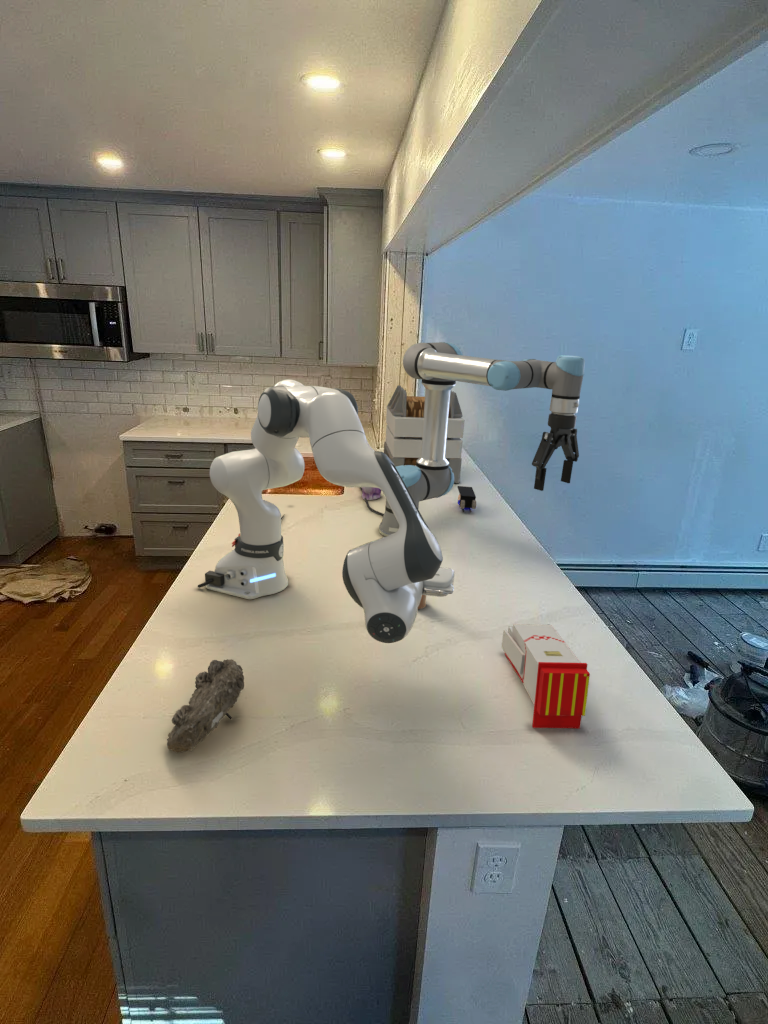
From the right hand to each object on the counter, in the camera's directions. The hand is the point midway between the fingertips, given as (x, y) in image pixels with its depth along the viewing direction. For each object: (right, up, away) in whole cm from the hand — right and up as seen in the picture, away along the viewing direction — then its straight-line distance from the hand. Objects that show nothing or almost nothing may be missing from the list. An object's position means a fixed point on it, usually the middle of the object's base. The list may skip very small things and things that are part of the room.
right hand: (552, 485), depth 166 cm
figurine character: (-16, -6, +63) cm, 65 cm away
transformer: (-32, +11, +109) cm, 115 cm away
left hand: (-43, -19, -39) cm, 61 cm away
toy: (-16, -45, -44) cm, 65 cm away
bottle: (-40, -33, -13) cm, 53 cm away
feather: (-87, -10, +44) cm, 97 cm away
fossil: (-82, -47, -57) cm, 110 cm away
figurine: (-55, -2, +71) cm, 90 cm away
